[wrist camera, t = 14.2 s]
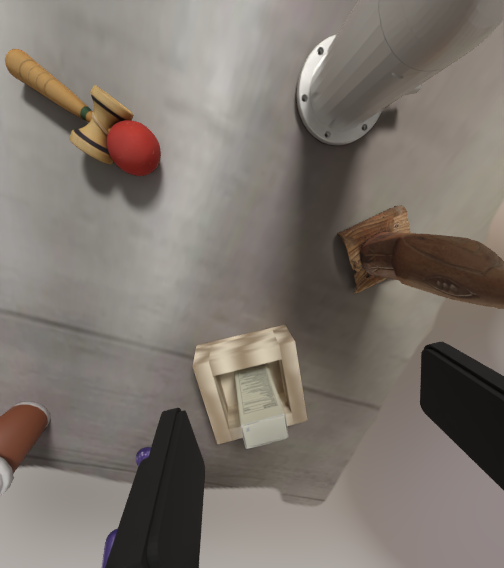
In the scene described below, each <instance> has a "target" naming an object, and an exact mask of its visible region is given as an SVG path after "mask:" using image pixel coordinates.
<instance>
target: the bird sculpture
mask: <svg viewBox="0 0 504 568" xmlns="http://www.w3.org/2000/svg"><path fill="white" fill-rule="evenodd" d="M407 217H408V216H407V211H406V209H405V208H404V207H403V206H394V208H390V209H389V210H387V211H384V212H382V213H379V214H378V215H375V217H372V218H370V219H367V220H365V221H363V222H361V223H359V224H357V225H354V226H353V227H351V228H349V229H346V230H344V231H343V232H339V233H337V234H338V235H339V236H340V237H341V239H342V241H343V242H344V244H345V246H346V249H347V250H348V256H349V260H350V264H351V265H352V266H353V265H354V263H352V262H351V260H353V262H355V261H356V263H355V266H357V267H360V265H361V267H360V269H358V268H357V267H356V268H355V266H353V267H352V270H354V269H355V271H356V275H355V274H354V277H355V282H356V285H357V287H356V291H354V292H353V293H355V294H356V293H359V292H361V291H363V290H365V289H367V288H369V287H371V286H374V285H376V284H378V283H380V282H382V281H384V280H386V279H396V280H399V281H400V282H401V283H402V284H405V285H408V286H410V287H414V288H418V289H421V290H423V291H427V292H430V293H433V294H436V295H439V296H443V297H446V298H449V299H452V300H458V301H462V302H468V303H472V304H477V305H483V306H489V307H495V308H499V309H504V261H503V260H502V259H501V258H500V257H499V256H497V254H496V253H495V252H493V251H492V250H491V249H489V248H488V247H486V246H485V245H483V244H482V243H480V242H478V241H474V240H471V239H468V238H461V237H453V236H442V235H430V234H415V233H410V229H408V227H409V222H407V221H408V218H407ZM399 221H400V222H399ZM403 222H404V223H403ZM398 223H399V224H398ZM396 226H397V227H396ZM385 230H386V232H384V231H385ZM396 230H397V232H396ZM389 231H390V232H389ZM377 232H378V234H377ZM379 232H380V233H379ZM370 237H371V238H370ZM365 240H367V241H365ZM361 245H363V246H362V247H361ZM357 262H358V263H357ZM362 265H363V266H362ZM361 268H362V269H363V270H361ZM359 270H360V271H359ZM357 272H358V273H357ZM368 273H369V274H370V275H368ZM364 275H365V276H364Z"/></svg>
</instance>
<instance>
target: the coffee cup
mask: <svg viewBox="0 0 504 568" xmlns="http://www.w3.org/2000/svg"><path fill="white" fill-rule="evenodd" d="M50 420H51V419H50V413H49V412H48V410H47V409H46V408H45V407H43V406H42V405H41V404H38V403H35V402H21V403H17V404H15V405H14V406H13V407H12V408H11V409H9V410H8V411H7V412H6V413H5V414H3V415H2V416H1V417H0V495H2V494H3V493H5V492H6V491H7V489H8V488H9V487H10V485H11V483H12V480H13V478H14V477H13V473H14V472H15V470H16V469H17V468H18V466H19V465H20V463H21V462H22V460H23V459H24V458H25V456H26V455H27V453H28V452H29V451H30V449H31V448H32V446H33V445H34V444H35V442H36V441H37V439H38V438H39V437H40V435H41V434H42V432H43V431H44V429H45V428H46V427H47V426H48V424H49V422H50Z"/></svg>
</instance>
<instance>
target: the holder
mask: <svg viewBox="0 0 504 568" xmlns="http://www.w3.org/2000/svg"><path fill="white" fill-rule="evenodd" d="M265 363H267V364H268V367H269V370H270V372H271V375H272V378H273V381H274V384H275V387H276V390H277V392H278V395H279V398H280V401H281V404H282V406H283V409H284V412H285V415H286V421H287V426H290V425H293V424H297V423H301V422H305V421H307V414H306V408H305V402H304V395H303V389H302V383H301V376H300V370H299V364H298V358H297V351H296V345H295V341H294V339H293V337H292V336H291V334H290V332H289V331H288V329H287V327H286V325H281V326H277V327H273V328H269V329H264V330H260V331H256V332H252V333H248V334H243V335H239V336H235V337H231V338H226V339H222V340H218V341H214V342H210V343H205V344H201V345H197V346H196V351H195V357H194V362H193V370H194V373H195V376H196V379H197V382H198V385H199V388H200V391H201V395H202V398H203V401H204V404H205V407H206V410H207V413H208V416H209V419H210V423H211V426H212V429H213V432H214V435H215V438H216V441H217V444H221V443H225V442H229V441H233V440H236V439H240V438H243V435H242V430H241V425H240V416H239V407H238V399H237V391H236V383H235V374H234V371H236V370H240V369H244V368H248V367H252V366H257V365H261V364H265Z"/></svg>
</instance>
